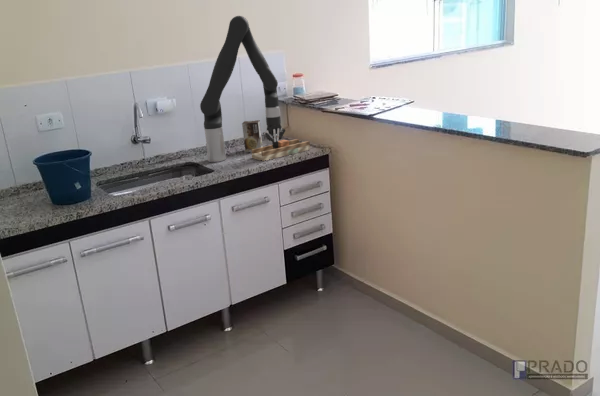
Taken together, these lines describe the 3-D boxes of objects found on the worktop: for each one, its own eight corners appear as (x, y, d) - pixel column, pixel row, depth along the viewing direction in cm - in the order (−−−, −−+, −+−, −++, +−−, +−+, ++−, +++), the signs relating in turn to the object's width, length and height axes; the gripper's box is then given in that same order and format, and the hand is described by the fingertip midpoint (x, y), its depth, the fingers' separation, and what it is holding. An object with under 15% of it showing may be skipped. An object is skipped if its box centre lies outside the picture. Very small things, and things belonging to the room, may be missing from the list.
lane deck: (263, 161, 279) (262, 152, 278) (252, 157, 288) (251, 149, 286) (310, 149, 296) (309, 141, 294) (298, 146, 304) (297, 138, 303)
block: (281, 150, 288) (281, 142, 287) (276, 148, 292) (275, 141, 291) (289, 148, 291) (288, 140, 290) (284, 146, 295) (283, 139, 294)
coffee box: (263, 148, 307) (260, 119, 302) (261, 151, 301) (258, 122, 296) (247, 149, 308) (244, 120, 303) (244, 152, 302) (241, 123, 297)
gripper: (266, 118, 277) (269, 151, 282) (287, 114, 284) (290, 147, 289) (258, 116, 282) (261, 149, 288) (279, 113, 290) (282, 145, 295)
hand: (275, 148), depth 288 cm, fingers closed
